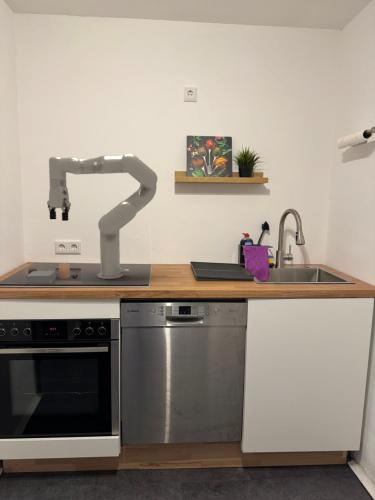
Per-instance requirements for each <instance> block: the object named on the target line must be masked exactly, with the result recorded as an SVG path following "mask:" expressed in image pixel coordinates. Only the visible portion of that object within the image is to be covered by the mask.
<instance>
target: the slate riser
mask: <svg viewBox="0 0 375 500" xmlns="http://www.w3.org/2000/svg"><path fill="white" fill-rule="evenodd" d="M55 280H56V271H55V270H37V271H33V272H31V273H30V274H29V275H26V284H29V285H51V284H52V283H53V282H55Z"/></svg>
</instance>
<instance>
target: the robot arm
mask: <svg viewBox="0 0 375 500" xmlns="http://www.w3.org/2000/svg"><path fill="white" fill-rule="evenodd" d="M48 169H49V170H48V172H49V173H48V174H49V176H48V177H49V190H48V191H49V192H48V200H47V201H46V204H47V208H48V212H49V220H57V211H56V210H57V209H61V221H62V222H67V221H69V212H70V210H71V204H72V203H71V202H70V199H69V198H70V194H69V189H68V187H67V173H69V174H73V175H94V174H96V175H97V174H101V175H105V174H110V175H111V174H128V175H129V176H131V177H132V178H133V179H134V180H136V181H137V182H138V183H139V184H140V185H139V187H138V189H137V190H136V191H134V192H133V193H132V194H131V195H129V197H127V198H126V199H124V200H122V201H121V202H119V203H118V204H117V205H116V206H114V207H113V208H112V209H110V210H109V211H108V212H107V213H106V214H104V215H102V216H101V217H100V219H99V221H98V223H97V224H98V225H97V226H98V229H99V248H100V249H99V252H100V253H99V254H100V255H99V256H100V272H99V273H97V278H99V279H102V280H103V279H104V280H112V279H113V280H115V279H121V278H122V277H123V276H124V274H129V273H130V269H129V268H122V267H121V263H120V261H121V259H120V256H121V255H120V253H121V251H120V249H121V248H120V243H121V242H120V230H121V229H122V228H124V226H126V225H127V224H129V223H130V222H131V221H132V220H133V219H135V217H136V216H137V214H138V213H139V212H140V211H141V210H143V208H145V207H146V206H147V205H148V204H149V203H151V201H152V200H153V199H154V197H155V195H156V193H157V183H158V176H157V174H156V172H155V171H154V170H153V169H152V168H150V167H149V166H148V165H147V164H146V163H145V162H143V161H142V160H141V159H140V158H139V157H138V156H137V155H135V154H134V153H129V152H128V153H125V154H120V155H119V154H117V155H116V154H114V155H107V154H106V155H100V156H97V157H93V158H78V157H74V156H70V157H69V156H68V157H59V156H51V157H49V158H48Z"/></svg>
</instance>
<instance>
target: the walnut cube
mask: <svg viewBox="0 0 375 500" xmlns="http://www.w3.org/2000/svg"><path fill="white" fill-rule="evenodd" d="M27 270H28V273H27V274H28V275H29V274H30V273H31V272H33V271H38V267H29V268H27Z"/></svg>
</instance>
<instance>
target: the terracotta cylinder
mask: <svg viewBox="0 0 375 500" xmlns="http://www.w3.org/2000/svg"><path fill="white" fill-rule="evenodd" d="M70 266H71V265H70V262H60V263H58V276H59V277H58V278H59V279H60V280H67V279H70V278H71V269H70Z"/></svg>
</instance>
